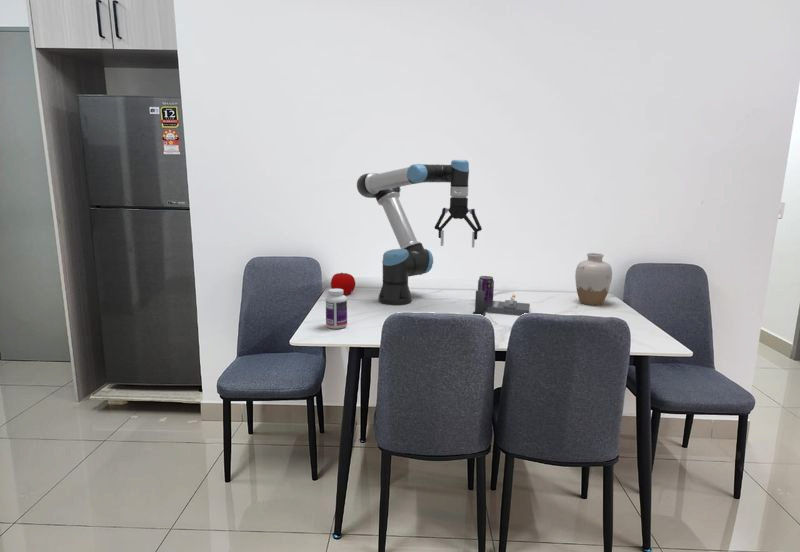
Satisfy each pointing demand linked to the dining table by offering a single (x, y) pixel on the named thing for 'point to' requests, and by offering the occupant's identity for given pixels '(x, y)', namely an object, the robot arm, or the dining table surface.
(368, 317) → the dining table surface
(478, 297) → the cord post
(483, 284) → the beverage can
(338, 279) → the tomato
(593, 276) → the vase
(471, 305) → the dining table surface
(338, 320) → the pill bottle
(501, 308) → the breaker panel
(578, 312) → the dining table surface
